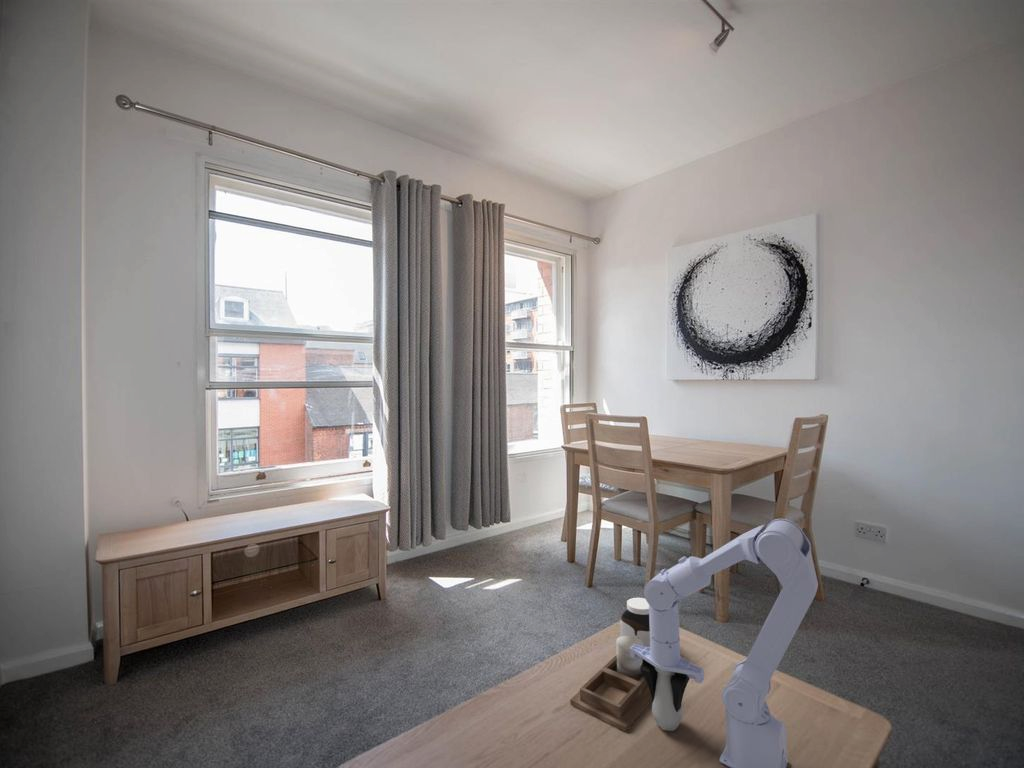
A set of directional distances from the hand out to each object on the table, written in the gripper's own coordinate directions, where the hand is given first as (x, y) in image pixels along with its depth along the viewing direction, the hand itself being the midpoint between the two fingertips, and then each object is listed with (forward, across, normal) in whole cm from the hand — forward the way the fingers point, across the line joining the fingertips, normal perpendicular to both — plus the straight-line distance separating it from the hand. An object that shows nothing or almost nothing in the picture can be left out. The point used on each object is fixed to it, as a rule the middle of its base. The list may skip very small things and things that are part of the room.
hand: (666, 704), depth 94 cm
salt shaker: (+4, 0, 0) cm, 4 cm away
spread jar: (+4, +15, -24) cm, 29 cm away
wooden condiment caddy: (+4, +12, -4) cm, 13 cm away
